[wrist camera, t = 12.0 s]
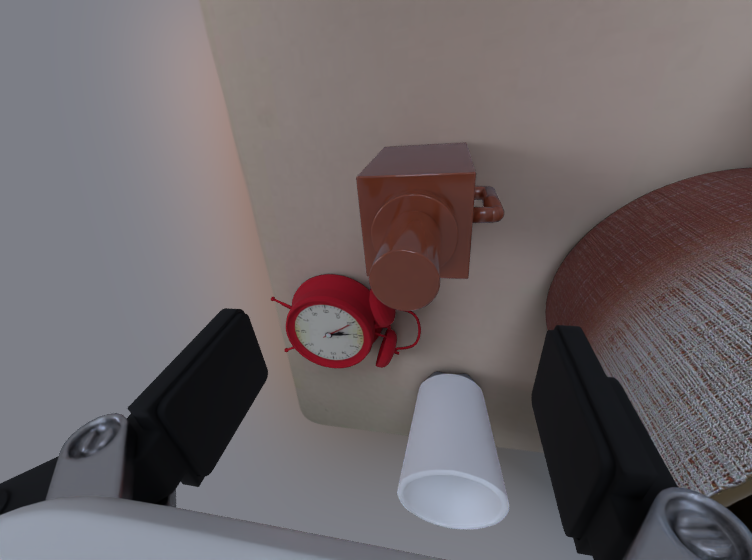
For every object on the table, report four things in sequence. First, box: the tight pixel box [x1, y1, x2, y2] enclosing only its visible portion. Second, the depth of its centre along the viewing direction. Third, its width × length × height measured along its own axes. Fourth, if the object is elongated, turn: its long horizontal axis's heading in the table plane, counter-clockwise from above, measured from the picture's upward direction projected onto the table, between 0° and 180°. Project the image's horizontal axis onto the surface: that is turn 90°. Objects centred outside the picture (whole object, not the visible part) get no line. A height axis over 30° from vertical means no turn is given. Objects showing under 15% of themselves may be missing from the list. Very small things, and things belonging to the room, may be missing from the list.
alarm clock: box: [271, 274, 421, 368], centre depth 35 cm, size 10×6×15 cm
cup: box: [397, 371, 509, 530], centre depth 35 cm, size 10×10×13 cm
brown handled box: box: [356, 142, 504, 311], centre depth 21 cm, size 7×9×16 cm
